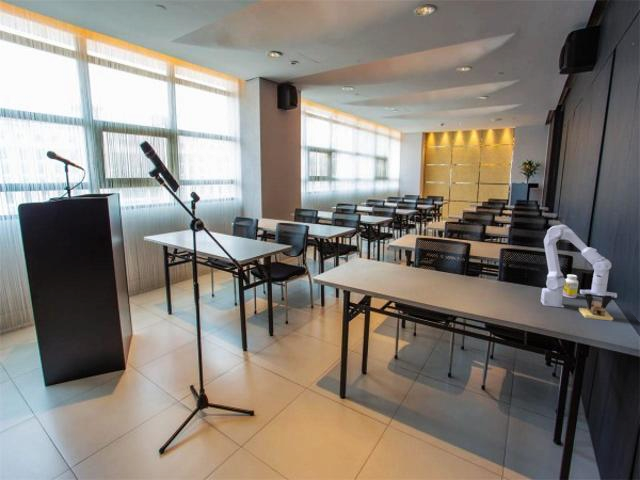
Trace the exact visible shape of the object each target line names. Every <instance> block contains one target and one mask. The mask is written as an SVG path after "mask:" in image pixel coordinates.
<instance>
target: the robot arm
mask: <svg viewBox="0 0 640 480" xmlns="http://www.w3.org/2000/svg"><path fill="white" fill-rule="evenodd" d="M560 239H561V240H567V241H569V242H570V243H572V245H574V246H575V247H576V248H577V249H578V250H580V252H581V253H580V255H581V256H582V257H583V258H584V259H585V260H586V261H587V262H588V263H589V264H590V265H591V266H592V269H593V270H594V271H593V275H592V276H593V277H592V282H591V289H579V294H581V295H583V296H584V298H585V300H586V304H587V305H588V309H591V304H592V301H594V297H593V296H600V297H601V306H602V307H603V308H605V309H606V308H607V307H608V305H609V304H610V302H612V300H613V298H614V299H615V298H618V293H617V292H613V291H611V292H610V291H607V288H608V280H609V273H610V271H609V270H610V269H611V268H612V262H611V261H610V260H609V259H608V258H605V256H602V255H601V254H599V252H598V250H597V248H593V247H590V246H589V247H588V245H586V243H585V242H583V240H582V239H581V238H579V237H578V235H577V234H575V232H574V231H573V230H572V229H571V228H569V226H568V225H566V224H558V225H553V226H551V227H550V228H549V229H547V231H546V235H545V237H544V238H543V245H544V252H545V256H546V263H547V269H548V274H547V275H546V281H545V284H546V287H543V288H542V289H541V296H540V302H541V303H542V305H543V306H545V307H555V308H565V306H564V304H562V303H563V297H564V296H563V290H564V289H563V288H564V286H565V284H566V280H565V279H566V278H565V277H564V274H563V272H562V271H561V268H560V267H561V266H560V261H559V255H558V248H557V242H558V241H559V240H560ZM587 305H586V306H587Z"/></svg>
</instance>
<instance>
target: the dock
mask: <svg viewBox="0 0 640 480" xmlns="http://www.w3.org/2000/svg"><path fill="white" fill-rule="evenodd" d="M578 311H579V312H580V313H581V315H582V316H583V317H584V318H585V319H593V320H604V321H610V322H612V321H613V320H614V317H612V316H611V315H610V313H608V311H607V310H606V311H605V316H603V315H600V314H599V313H598V312H597V314H596V315H594V314H592V313H591V312H590V311H589V310H588V309H587V307H578Z"/></svg>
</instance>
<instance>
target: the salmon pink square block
mask: <svg viewBox="0 0 640 480" xmlns="http://www.w3.org/2000/svg"><path fill="white" fill-rule="evenodd" d="M591 305H592V306H593V307H600V308H601V306H602V302H600V301H599V300H592V304H591Z"/></svg>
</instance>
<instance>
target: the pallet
mask: <svg viewBox="0 0 640 480" xmlns="http://www.w3.org/2000/svg"><path fill="white" fill-rule="evenodd" d="M586 309H588V305H586ZM588 310H589V311H590V312H591V313H592V314H594V315H596V314H597V312H598V313H599V314H600V315H603V316H605V311H606V312H607V310H606V308H603V307H602V305H601V308H600V307H593V306H592V305H591V309H588Z"/></svg>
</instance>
